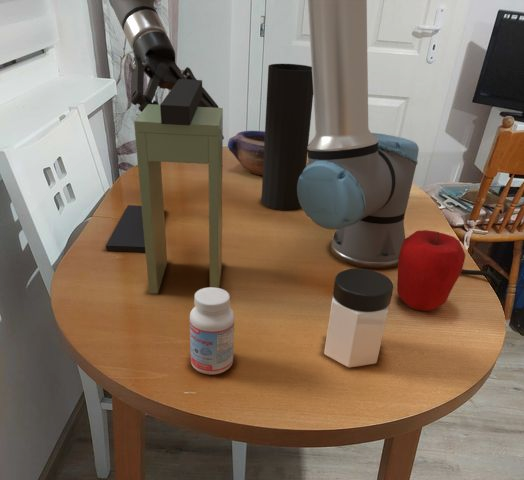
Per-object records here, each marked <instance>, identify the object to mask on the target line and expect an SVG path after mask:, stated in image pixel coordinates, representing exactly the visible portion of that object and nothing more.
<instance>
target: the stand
mask: <svg viewBox="0 0 524 480" xmlns="http://www.w3.org/2000/svg"><path fill="white" fill-rule="evenodd" d="M160 105H161V104H159V105H156V104H148V105H147V106H146V107H145V109H144V110H143V111H142V112H141V111H140V113H139V115H137V117H136V118H135V119H134V120H133V126H134V136H135V148H136V159H137V170H138V183H139V193H140V194H139V195H140V204H141V205H140V206H142V217H143V229H144V240H145V251H146V252H145V261H146V272H147V273H146V274H147V283H148V294H155V295H159V291H160V288H161V284H162V281H163V279H164V278H163V277H164V274H165V271H166V268H167V266H168V265H167V264H168V254H167V253H168V252H167V238H166V237H167V236H166V223H165V206H164V187H163V174H162V173H163V172H162V163H178V164H179V163H182V164H201V165H208V226H209V227H208V233H209V234H208V242H209V243H208V245H209V246H208V249H209V251H208V252H209V253H208V255H209V258H208V259H209V287H215V288H220V285H221V277H222V276H221V275H222V268H223V267H222V265H223V152H224V151H223V148H224V147H223V143H224V142H223V141H224V139H223V137H224V133H223V129H224V127H223V125H224V123H223V122H224V121H223V117H224V116H223V115H224V108H223V107H219V108H213V107H197V110H196V112H195V114H194V117H193V119H192V121H191V124H190V125H171V124H161V111H160Z"/></svg>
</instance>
